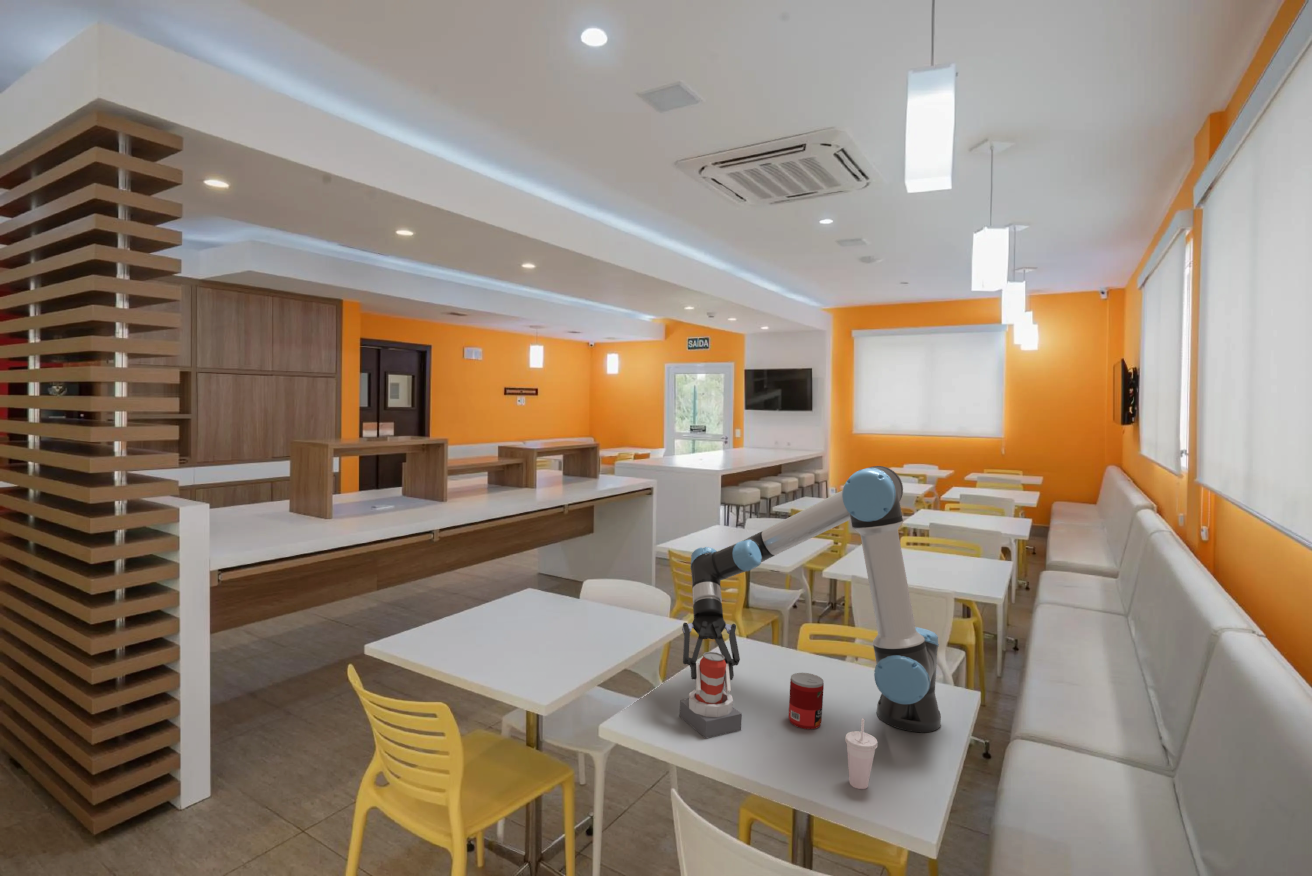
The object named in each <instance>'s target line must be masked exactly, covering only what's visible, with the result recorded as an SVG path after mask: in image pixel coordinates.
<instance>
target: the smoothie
mask: <svg viewBox="0 0 1312 876" xmlns="http://www.w3.org/2000/svg"><path fill="white" fill-rule="evenodd" d="M864 730H865V718H861V723H860V731H857V730H855V731H849V732H847V733H846V734H845V737H844V742H845V743H846V751H847V766H848V767H847V768H848V779H849V780H848V781H849V785H850V786H851V787H853V788H855V789H857V790H858V789H859V790H866V789H867V788H868V787H869V782H870V777H871V772H872V768H873V763H874V757H875V753H876V749H877V748H878V740H877V738H876V737H875V736H873V735H871V734H869V733H867V732H865V731H864Z"/></svg>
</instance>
